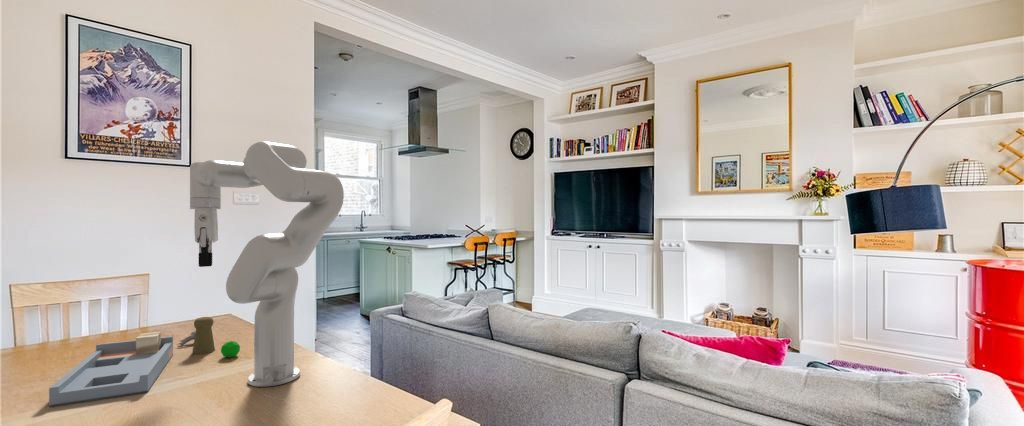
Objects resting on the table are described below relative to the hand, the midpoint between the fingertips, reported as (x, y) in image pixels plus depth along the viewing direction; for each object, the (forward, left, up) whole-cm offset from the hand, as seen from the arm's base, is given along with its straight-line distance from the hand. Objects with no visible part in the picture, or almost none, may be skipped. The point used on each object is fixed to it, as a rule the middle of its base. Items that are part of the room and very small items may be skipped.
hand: (205, 266), depth 132 cm
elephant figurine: (+26, +6, -29) cm, 40 cm away
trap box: (-2, +19, -29) cm, 35 cm away
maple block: (+10, +15, -26) cm, 32 cm away
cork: (+14, +2, -29) cm, 33 cm away
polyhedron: (+4, -6, -29) cm, 30 cm away
